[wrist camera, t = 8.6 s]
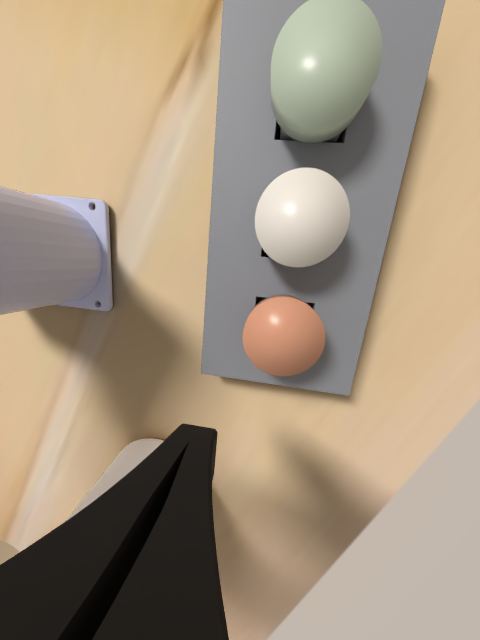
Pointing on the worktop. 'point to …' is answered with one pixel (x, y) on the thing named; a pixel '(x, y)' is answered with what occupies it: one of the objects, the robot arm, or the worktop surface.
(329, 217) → the cream button
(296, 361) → the terracotta button
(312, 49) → the sage button
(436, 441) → the worktop surface
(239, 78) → the button panel
